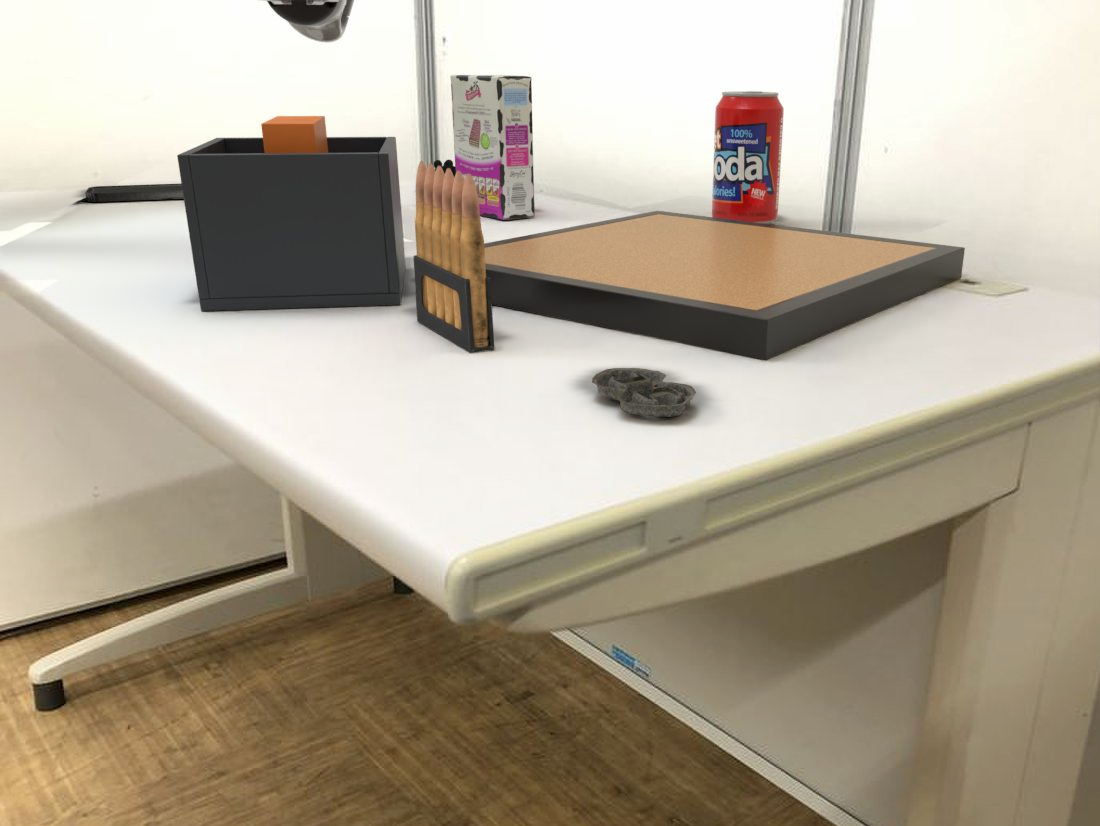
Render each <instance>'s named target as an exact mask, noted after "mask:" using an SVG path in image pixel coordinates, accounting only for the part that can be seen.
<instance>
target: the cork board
mask: <svg viewBox="0 0 1100 826" xmlns="http://www.w3.org/2000/svg"><path fill="white" fill-rule="evenodd" d="M484 248H485V267H486V276H488V277H490V284H491V300H492V306H496V307H497V306H498V307H503V308H508V309H512V310H517V311H522V312H527V313H531V314H532V313H533V314H537V315H541V316H546V317H552V318H556V319H561V320H567V321H570V322H575V323H582V324H585V325H590V326H591V325H592V326H596V327H601V328H606V329H609V330H616V331H621V332H625V333H631V334H636V335H640V336H645V337H650V338H655V339H661V340H664V341H670V342H675V343H681V344H686V345H689V346H694V347H699V348H704V349H708V350H709V349H710V350H714V351H720V352H724V353H729V354H734V355H739V356H743V357H749V358H753V359H758V360H763V361H767V360H769V359H772V358H774V357H777V356H779V355H781V354H783V353H786V352H788V351H790V350H793V349H795V348H797V347H801V346H803V345H805V344H807V343H809V342H812V341H814V340H817V339H820V338H821V337H824V336H826V335H828V334H831V333H834V332H836V331H838V330H840V329H843V328H845V327H848V326H850V325H852V324H855V323H858V322H859V321H862V320H864V319H867V318H868V317H869V318H870V317H871V316H874V315H876V314H878V313H881V312H884V311H886V310H888V309H890V308H893V307H896V306H898V305H900V304H903V303H905V302H907V301H910V300H913V299H915V298H917V297H919V296H921V295H924V294H926V293H928V292H931V291H933V290H936V289H938V288H940V287H943V286H945V285H948V284H950V283H953V282H955V281H957V280H960V279H962V275H963V267H964V259H965V250H966V247H963V246H956V245H947V244H938V243H931V242H929V243H928V242H922V241H914V240H905V239H898V238H888V237H880V236H872V235H863V234H857V233H856V234H854V233H846V232H839V231H831V230H821V229H815V228H813V229H812V228H805V227H797V226H789V225H779V224H772V223H770V224H764V223H756V222H747V221H739V220H731V219H722V218H714V217H712V216H705V215H698V214H697V215H696V214H688V213H681V212H680V213H679V212H671V211H663V210H654V211H648V212H642V213H638V214H633V215H628V216H623V217H616V218H610V219H607V220H600V221H596V222H591V223H585V224H580V225H579V224H578V225H575V226H569V227H563V228H559V229H553V230H548V231H541V232H537V233H533V234H528V235H527V234H526V235H521V236H516V237H512V238H506V239H500V240H495V241H489V242H484Z"/></svg>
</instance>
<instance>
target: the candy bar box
mask: <svg viewBox="0 0 1100 826" xmlns="http://www.w3.org/2000/svg"><path fill="white" fill-rule="evenodd" d="M449 78H450V88H451V89H450V90H451V109H452V110H451V111H452V112H451V113H452V129H453V131H452V133H453V150H454V151H453V152H454V166H455V173H456V172H457V171H460V172H461V174H462V176H463V178H464V181H465V178H466V175H467V174H468V173H470V174H471V176H472V178H473V180H474V183H475V187H476V190H477V195H478V201H479V212H480V216H482V217H487V218H492V219H497V220H502V221H509V220H519V219H530V218H533V217H534V218H535V215H536V214H535V183H534V182H535V178H534V177H535V176H534V145H533V143H534V142H533V140H534V132H533V92H532V91H533V90H532V76H528V75H508V74H507V75H506V74H452V75H450V77H449Z"/></svg>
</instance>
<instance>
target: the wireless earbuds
mask: <svg viewBox="0 0 1100 826" xmlns="http://www.w3.org/2000/svg"><path fill="white" fill-rule="evenodd" d="M438 166H441V167H442V169H443V171H444V174H445V172H446V170H447V168H450V169H451V171H452V173H453V176H454V178H455V174H456V173H455V165H454V161H453V160H452V159H446V160H445V161H444V162H442V161H441V160H440V159H436V160H434V161H433V167H434V169H435V172H436V169H437V167H438Z"/></svg>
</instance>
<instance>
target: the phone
mask: <svg viewBox="0 0 1100 826" xmlns="http://www.w3.org/2000/svg"><path fill="white" fill-rule="evenodd" d="M84 193H85V198H86V202H87V203H102V202H107V203H108V202H131V201H133V202H134V201H156V200H158V201H159V200H181V199H183V200H184V197H183V190H182V184H181V183H156V184H129V185H126V184H125V185H98V186H89V187H88V188H87V189H86V191H85V192H84Z"/></svg>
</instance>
